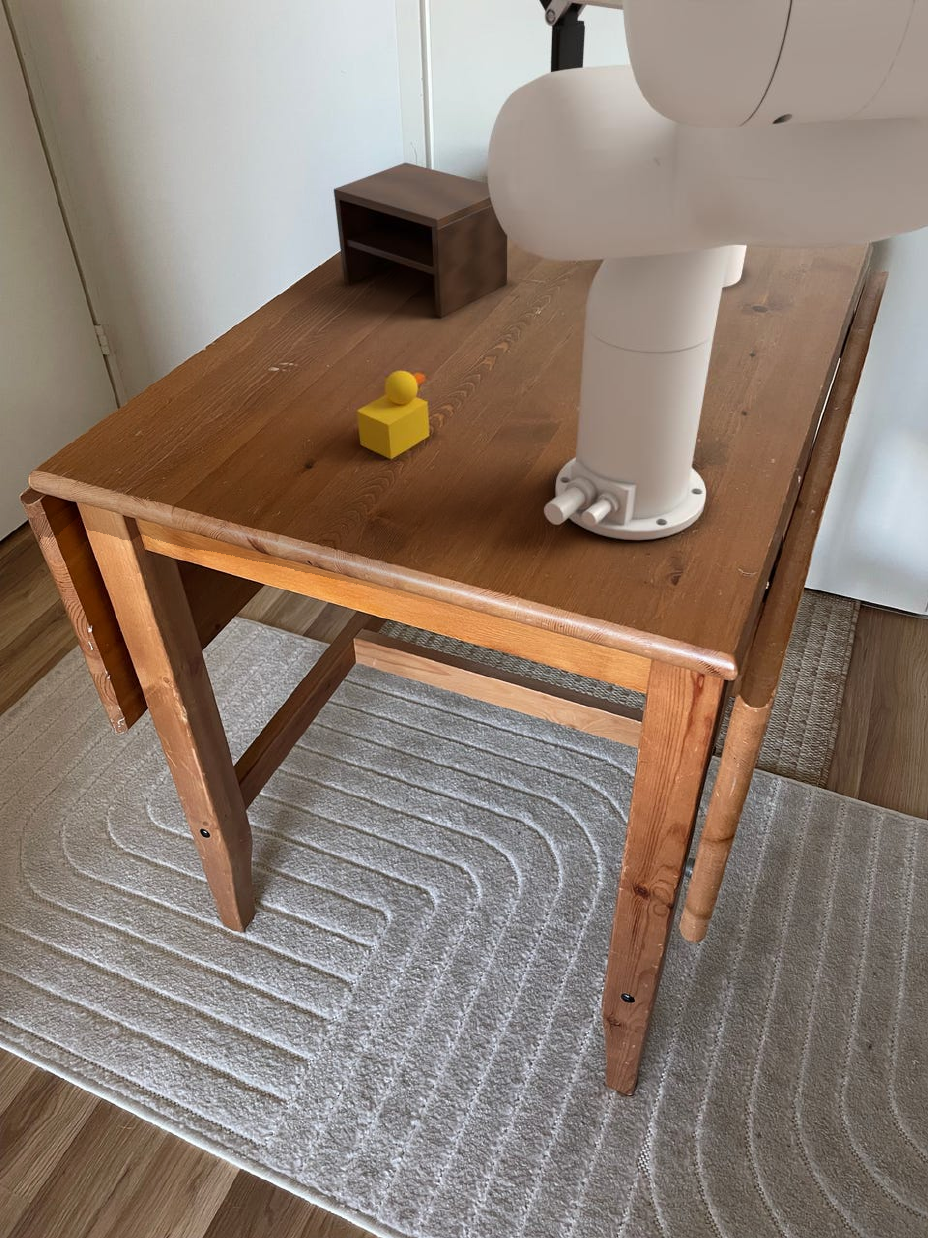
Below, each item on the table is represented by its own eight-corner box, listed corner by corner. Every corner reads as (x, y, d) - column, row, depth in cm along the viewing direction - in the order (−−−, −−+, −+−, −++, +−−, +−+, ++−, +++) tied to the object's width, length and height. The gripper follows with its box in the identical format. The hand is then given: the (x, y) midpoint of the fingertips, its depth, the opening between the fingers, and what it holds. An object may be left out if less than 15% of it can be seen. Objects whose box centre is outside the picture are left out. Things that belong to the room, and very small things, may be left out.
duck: (391, 459, 85) (385, 396, 80) (360, 444, 87) (353, 382, 82) (439, 429, 88) (436, 367, 84) (409, 416, 90) (404, 355, 86)
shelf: (441, 318, 106) (436, 219, 98) (343, 282, 114) (333, 188, 106) (507, 283, 112) (507, 188, 105) (411, 252, 120) (405, 161, 113)
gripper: (499, -203, 62) (499, 84, 74) (719, -206, 53) (679, 123, 65) (571, -207, 66) (560, 66, 78) (788, -210, 57) (739, 101, 68)
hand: (614, 92), depth 71 cm, fingers open, 9 cm apart
